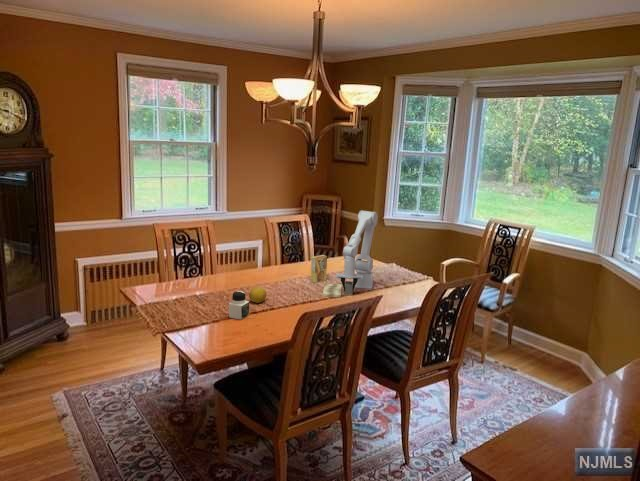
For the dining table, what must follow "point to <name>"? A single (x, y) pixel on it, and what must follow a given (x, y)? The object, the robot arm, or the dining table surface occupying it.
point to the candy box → (318, 268)
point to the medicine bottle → (238, 306)
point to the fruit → (257, 294)
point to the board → (332, 290)
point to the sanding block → (348, 288)
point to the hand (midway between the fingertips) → (348, 291)
